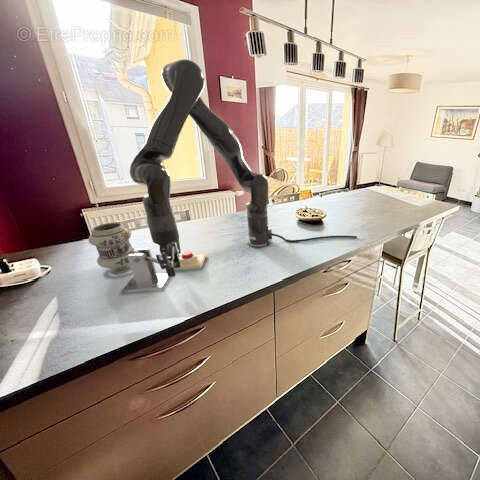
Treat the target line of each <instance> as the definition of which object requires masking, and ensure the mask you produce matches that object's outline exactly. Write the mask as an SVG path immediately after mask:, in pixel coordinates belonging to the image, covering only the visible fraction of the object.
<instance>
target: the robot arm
mask: <svg viewBox="0 0 480 480" xmlns="http://www.w3.org/2000/svg"><path fill="white" fill-rule="evenodd" d="M161 78H162V81H163V84H164V87H166V89H167V91H168V92H169V93H170V95H169V98H168V100H167V102H166V103H165V105H164V107H163V108H162V109H161V111H160V112H159V113H158V115H157V116H156V118H155V119H154V121H153V123H152V125H150V129H149V132H148V135H147V137H146V139H145V143H144V144H143V146H142V147H141V149H140V150H139V151H138V152H137V154H136V156H134V158H133V159H132V160H131V161H132V162H131V163H130V166H129V175H130V178H131V180H132V181H133V183H136V184H138V185H140V186H144V187H146V189H147V194H146V195H144V196H143V197H142V204H143V208H144V212H145V215H146V222H147V226H148V230H149V233H150V236H151V239H152V242H153V243H154V244H155V245H158V246H159V252H160V253H156V254H155V257H156V259H157V260H158V262H159V267H160V269H161V270H165V271H166V273H167V275H168V277H169V278H173V277H175V276H176V272H175V271H176V269H174V268H180V267H181V265H180V261H179V257H180V255H181V254H182V251H181V244H180V234H179V229H178V225H177V222H176V217H175V215H174V212H173V208H172V207H173V206H172V204H171V182H172V181H171V175H170V173H169V171H168V169H167V168H166V167H165V166H164V165H163V164H162V163H163V161H166V160H170V159H171V157H172V156H173V154H174V152H175V149H176V146H177V143H178V141H179V138H180V135H181V132H182V130H183V128H184V125H185V123H186V122H187V119H188V118H189V116H190V117H191V119H192V120H193V121H194V123H195V124H196V126H197V127H198V128H199V129H200V131H201V132H202V133H203V135H204V136H205V137H206V139H207V140H208V142H209V143H210V145H211V146H212V147H213V149H214V150H215V151H216V153H217V154H218V155H219V157H220V158H221V159H222V160H223V162H224V163H225V165H226V166H227V167H228V168H229V170H230V171H231V172H232V175H233V176H234V177H235V179H236V181H237V183H238V185H239V186H240V188H241V189H242V190H243V191H244V192H245V193H247V194H250V201H247V202H246V203H245V209H246V221H247V231H248V243H249V245H250V246H251V247H254V248H261V247H266V246H270V240H273V237H277V238H280V239H282V240H283V241H284V242H287V243H298V242H309V241H313V240H321V239H333V238H334V239H335V238H347V239H357V238H358V237H357V236H356V235H326V236H323V235H322V236H316V237H309V238H303V239H287V238H285V237H284V236H282V235H279V234H278V233H277V234H276V233H273V232H272V228H271V229H270V228H269V218H268V217H269V216H268V204H269V199H270V197H269V196H270V195H269V191H270V190H269V182H268V181H269V180H268V178H267V177H266V176H265V175H264V174H262V173H257V172H254V171H252V169H251V168H250V167H249V165H248V164H247V162H246V161H245V159H244V156H243V149H242V146H241V143H240V141H239V139H238V137H237V136H236V134H235V133H234V131H233V130H232V127H231V126H229V124H228V123H227V122H226V121H225V120H224V119H222V118H221V117H220V116H219V115H217V114H216V113H215V112H214V111H213V110H212V109H211V108H209V106H207V104H206V103H205V102H204V100H203V99H202V97H201V95H202V93H203V91H204V89H205V84H206V79H205V75H204V73H203V70H202V69H201V68H200V66H199V65H198V64H197V63H196V62H195V61H193V60H191V59H186V58H183V59H178V60H175V61H173V62H170V63H167V64H165V65H164V66H163V67H162V69H161ZM174 260H177V261H178V263H177V264H176V266H175V267H173V261H174Z"/></svg>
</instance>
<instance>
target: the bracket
mask: <svg viewBox="0 0 480 480" xmlns="http://www.w3.org/2000/svg"><path fill="white" fill-rule="evenodd" d="M133 251H134V254H129V255H128V259H129V262H130V265H131V268H132V269H131V271H132V274H133V277H132V278H131V279H130V280H129V281H128V283H126V285H125V286H124V287H123V288H122V289H121V292H128V291H129V292H131V291H141V290H142V291H143V290H155V289H163V288H164V286H165V285H166V283H167V281H168V280H169V278H170V277H168V275H167V272H166V273H157V270H156V266H155V264H154V262H150V261H146V259H145V255H144V254H135V253H136V252H137V251H140V252H144V253H147V256H148V257H152V258H153V256H152V253H151V248H149V247H145V248H143V247H142V248H141V247H140V248H134V250H133Z"/></svg>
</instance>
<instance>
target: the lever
mask: <svg viewBox="0 0 480 480" xmlns="http://www.w3.org/2000/svg"><path fill="white" fill-rule="evenodd" d="M135 254H144V255H145V259H146V261H150V262H154V263H155V264H159V262H158V260H157V258H155V257H153V256H152V257H148V256H147V253H144V252H140V251H137V252H136V253H135ZM177 263H178V261H177V260H174V261H173V267H175V266H176V264H177ZM159 265H160V264H159Z"/></svg>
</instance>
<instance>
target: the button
mask: <svg viewBox="0 0 480 480" xmlns="http://www.w3.org/2000/svg"><path fill="white" fill-rule="evenodd" d="M192 252H193V251H191V250H185V251H182V252H181V254H182V258H183V259H188V258H191V257H193V255H192Z"/></svg>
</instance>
